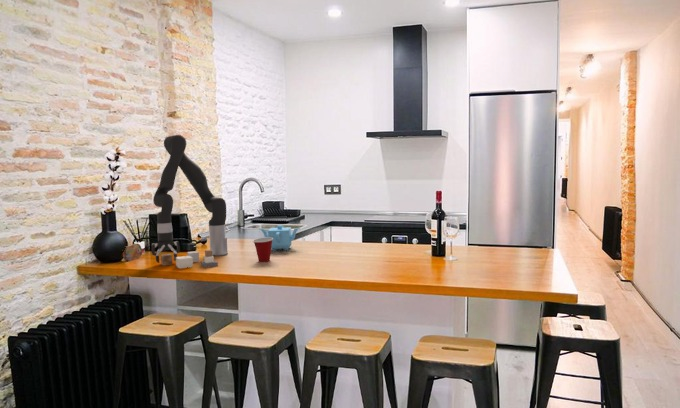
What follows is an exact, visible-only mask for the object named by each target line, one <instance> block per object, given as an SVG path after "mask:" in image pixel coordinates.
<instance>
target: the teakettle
mask: <svg viewBox="0 0 680 408" xmlns="http://www.w3.org/2000/svg"><path fill="white" fill-rule="evenodd" d="M300 229H301V227H297V228H294V229H293V230H292V227H291V226H289V227H285V226H284V225H283V224H282V225H281V224H280V225H279V224H278V225H276V227H270V229H268V231H266V229H264V228H259V230H260V231H262V233H263V234H264V235H263V236H264V238H265V237H271V238H273V240H272V246H271V252H276V251H277V250H278V249H279V250H281V249H282V251H283V250H288V251H289V250H290V249H289V248H291V247H292V242H293V241H294V239H295V238H296V235H297V232H298V230H300ZM292 231H293V232H292Z"/></svg>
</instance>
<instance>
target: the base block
mask: <svg viewBox="0 0 680 408" xmlns="http://www.w3.org/2000/svg"><path fill="white" fill-rule="evenodd" d="M175 267H176V268H178V269H180V270H181V269H187V267H188V268H193V267H194V262H193V258H192V257H191V256H188V255H183V256H177V257H176V261H175Z"/></svg>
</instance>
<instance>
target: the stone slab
mask: <svg viewBox="0 0 680 408" xmlns="http://www.w3.org/2000/svg"><path fill="white" fill-rule="evenodd" d="M125 247H126V248H125V250H124V252H123V253H122V258H123V260H125V261H126V262H128V261H130V262H131V261H133V260H137V259H139V258H141V256H142V253H143V252H142V251H143V250H142V246H141V245H140V244H139V243H133V244H130V245H129V244H128V245H127V246H126V245H125Z"/></svg>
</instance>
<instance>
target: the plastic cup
mask: <svg viewBox="0 0 680 408" xmlns="http://www.w3.org/2000/svg"><path fill="white" fill-rule="evenodd" d="M272 240H273V238H271V237H265V236H264V237H259V238H255V239H253V240H252V242H253V244H254V247H255V251H256V255H257V259H258V262H260V263H263V262H264V263H267V262H270V260H271V253H272V249H271V246H272Z"/></svg>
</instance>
